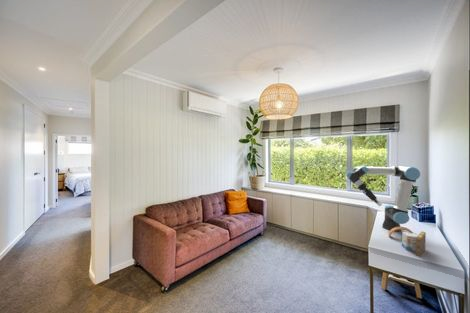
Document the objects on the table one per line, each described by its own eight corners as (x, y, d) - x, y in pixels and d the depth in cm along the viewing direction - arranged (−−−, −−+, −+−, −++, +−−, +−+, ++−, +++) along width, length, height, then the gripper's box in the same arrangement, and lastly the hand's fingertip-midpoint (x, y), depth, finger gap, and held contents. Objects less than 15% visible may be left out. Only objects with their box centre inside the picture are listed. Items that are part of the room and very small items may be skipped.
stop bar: (421, 248, 164) (422, 231, 164) (425, 249, 162) (425, 232, 162) (416, 255, 153) (416, 237, 153) (419, 256, 151) (420, 237, 151)
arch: (418, 242, 175) (418, 231, 175) (389, 237, 185) (389, 226, 185) (416, 240, 180) (416, 228, 180) (388, 235, 190) (388, 224, 190)
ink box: (406, 250, 162) (406, 235, 161) (401, 245, 170) (402, 231, 169) (419, 251, 159) (420, 237, 158) (414, 247, 167) (414, 232, 166)
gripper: (360, 186, 205) (379, 206, 192) (354, 188, 197) (374, 209, 184) (366, 182, 201) (386, 202, 188) (360, 183, 193) (381, 204, 180)
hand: (380, 205), depth 186 cm, fingers closed
